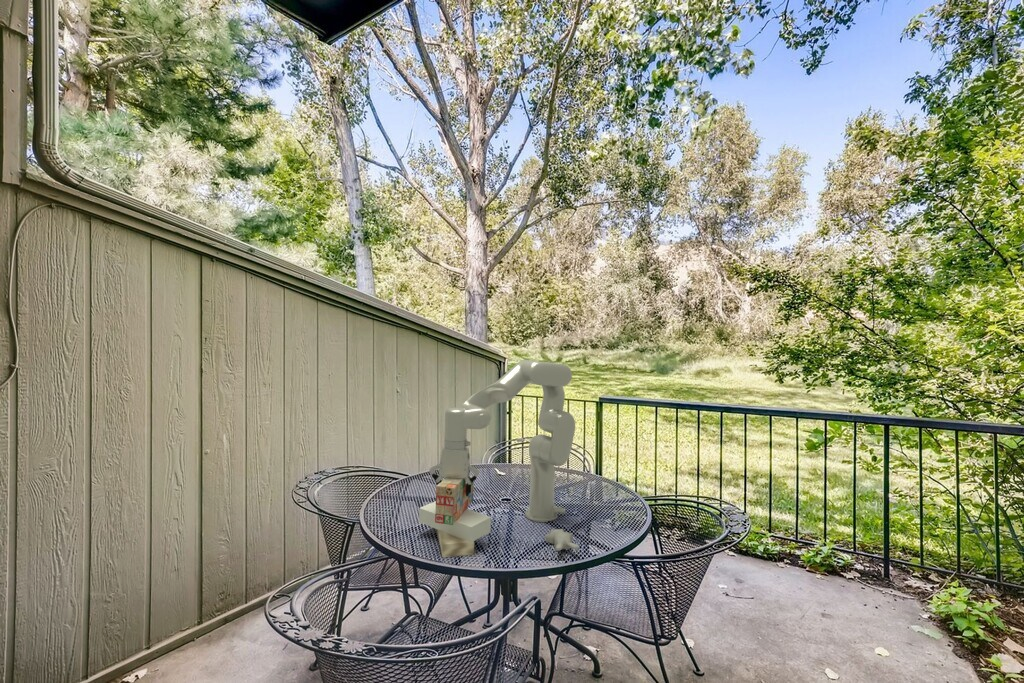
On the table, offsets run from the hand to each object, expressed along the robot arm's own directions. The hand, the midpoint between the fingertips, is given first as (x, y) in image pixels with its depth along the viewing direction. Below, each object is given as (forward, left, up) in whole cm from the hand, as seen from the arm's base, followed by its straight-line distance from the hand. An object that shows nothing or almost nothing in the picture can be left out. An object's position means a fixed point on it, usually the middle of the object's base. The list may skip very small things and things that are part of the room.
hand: (453, 493), depth 154 cm
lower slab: (0, 0, -16) cm, 16 cm away
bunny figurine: (-37, 0, -16) cm, 40 cm away
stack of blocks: (-1, -1, -6) cm, 7 cm away
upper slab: (0, 0, -11) cm, 11 cm away
